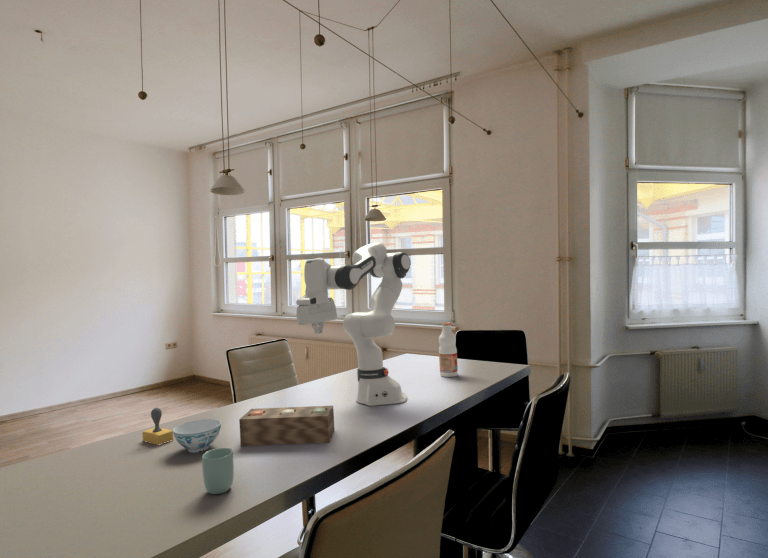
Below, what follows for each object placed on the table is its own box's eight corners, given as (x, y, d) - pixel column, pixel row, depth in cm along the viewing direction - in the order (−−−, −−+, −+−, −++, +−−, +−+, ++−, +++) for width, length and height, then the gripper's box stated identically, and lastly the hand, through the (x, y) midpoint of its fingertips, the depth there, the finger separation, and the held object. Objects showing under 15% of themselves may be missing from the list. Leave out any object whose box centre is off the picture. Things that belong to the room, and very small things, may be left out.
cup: (208, 485, 124) (206, 449, 124) (238, 482, 125) (236, 446, 124) (199, 499, 116) (197, 460, 116) (230, 496, 117) (228, 457, 117)
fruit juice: (437, 374, 245) (435, 322, 244) (454, 372, 246) (451, 321, 246) (443, 378, 235) (440, 324, 235) (460, 376, 237) (457, 323, 237)
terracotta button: (265, 419, 160) (264, 410, 160) (261, 423, 156) (260, 414, 156) (253, 420, 161) (252, 410, 161) (248, 424, 156) (248, 414, 156)
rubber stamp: (142, 441, 162) (140, 408, 162) (157, 436, 167) (156, 404, 167) (158, 446, 157) (156, 411, 157) (173, 440, 162) (171, 407, 162)
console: (334, 430, 163) (333, 405, 163) (329, 442, 151) (327, 415, 151) (252, 433, 165) (251, 408, 164) (240, 445, 153) (239, 419, 152)
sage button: (326, 417, 159) (326, 407, 159) (324, 421, 155) (324, 411, 155) (314, 417, 160) (314, 408, 160) (312, 421, 155) (311, 412, 155)
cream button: (296, 418, 160) (295, 409, 160) (293, 422, 156) (292, 412, 156) (283, 419, 160) (283, 409, 160) (280, 423, 156) (279, 413, 156)
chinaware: (175, 461, 142) (173, 437, 142) (173, 446, 155) (171, 424, 155) (225, 450, 149) (224, 427, 149) (219, 437, 162) (217, 415, 162)
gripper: (327, 297, 190) (329, 330, 190) (293, 301, 172) (295, 337, 172) (339, 297, 186) (341, 330, 186) (305, 300, 169) (307, 337, 169)
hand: (318, 333), depth 179 cm, fingers closed
